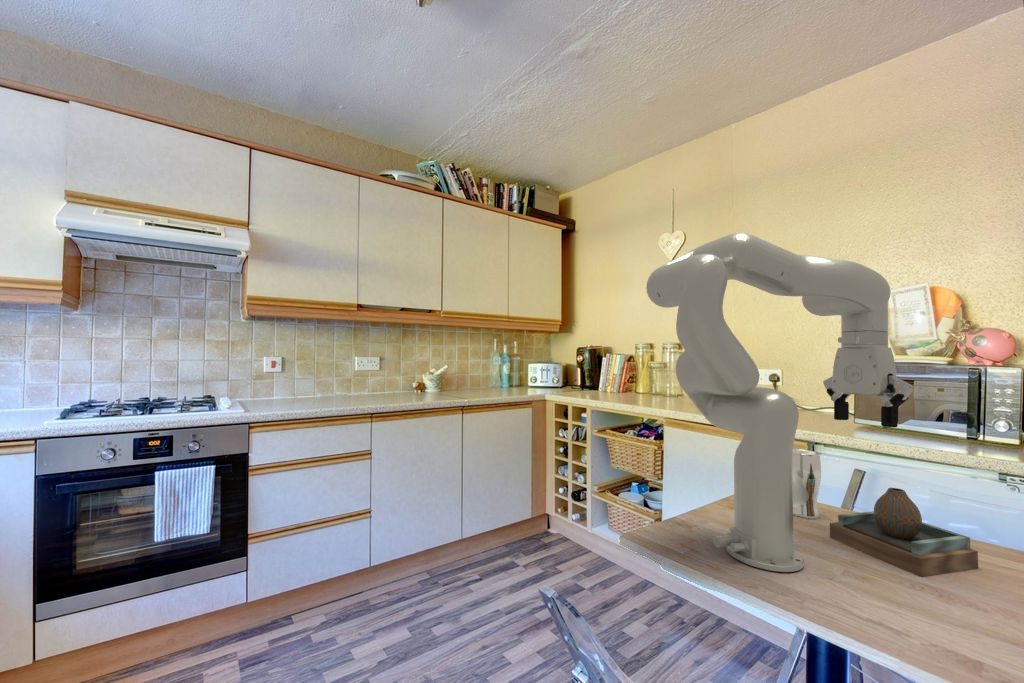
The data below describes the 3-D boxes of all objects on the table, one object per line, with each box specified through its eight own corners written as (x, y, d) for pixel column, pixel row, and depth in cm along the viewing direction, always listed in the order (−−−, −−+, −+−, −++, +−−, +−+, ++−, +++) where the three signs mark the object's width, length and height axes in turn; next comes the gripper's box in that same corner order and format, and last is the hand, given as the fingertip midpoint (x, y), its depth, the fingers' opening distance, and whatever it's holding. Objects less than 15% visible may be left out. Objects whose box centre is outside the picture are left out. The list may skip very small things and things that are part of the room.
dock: (921, 576, 71) (920, 547, 72) (830, 537, 87) (829, 513, 87) (978, 568, 75) (977, 539, 75) (880, 531, 90) (880, 508, 90)
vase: (895, 527, 85) (894, 483, 85) (933, 542, 78) (931, 494, 78) (864, 528, 84) (863, 484, 84) (900, 543, 77) (898, 495, 77)
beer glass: (810, 509, 103) (809, 449, 104) (828, 520, 96) (827, 455, 97) (780, 508, 104) (780, 448, 105) (797, 518, 97) (796, 454, 98)
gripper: (811, 342, 95) (811, 417, 94) (895, 338, 78) (895, 430, 77) (838, 343, 96) (838, 417, 95) (926, 340, 79) (927, 430, 79)
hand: (864, 423), depth 86 cm, fingers open, 9 cm apart
